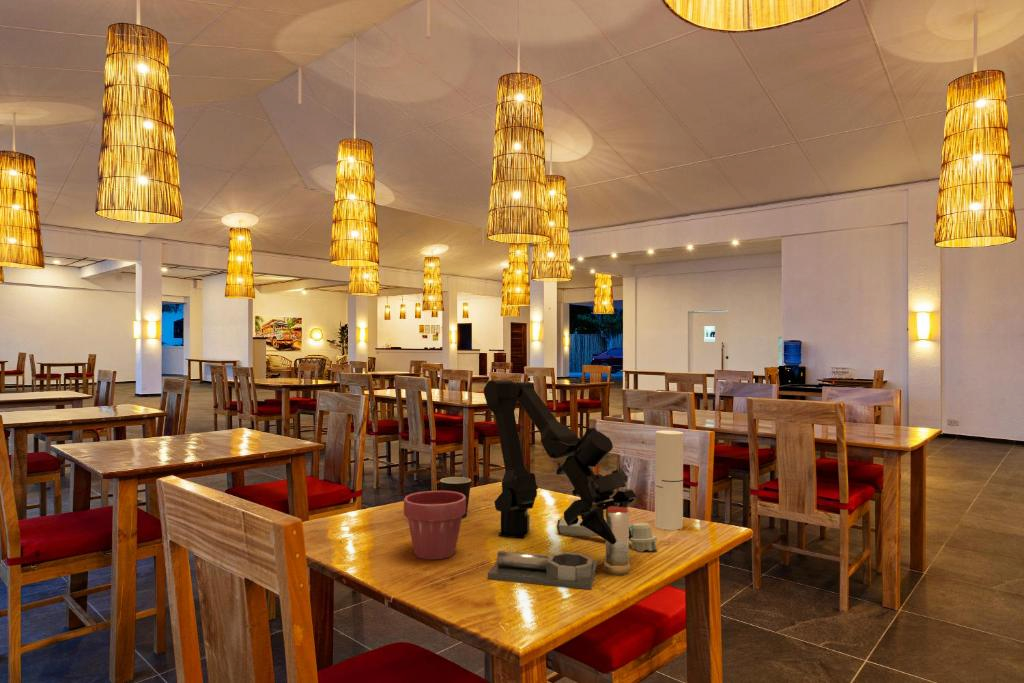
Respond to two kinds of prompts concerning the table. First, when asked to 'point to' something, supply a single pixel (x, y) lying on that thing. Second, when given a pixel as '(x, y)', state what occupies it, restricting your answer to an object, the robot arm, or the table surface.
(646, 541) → the grey long bar
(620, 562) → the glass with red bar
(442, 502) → the plant pot
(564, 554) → the metal plate with ring
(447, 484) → the coffee mug
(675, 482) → the cylindrical container
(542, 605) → the table surface
